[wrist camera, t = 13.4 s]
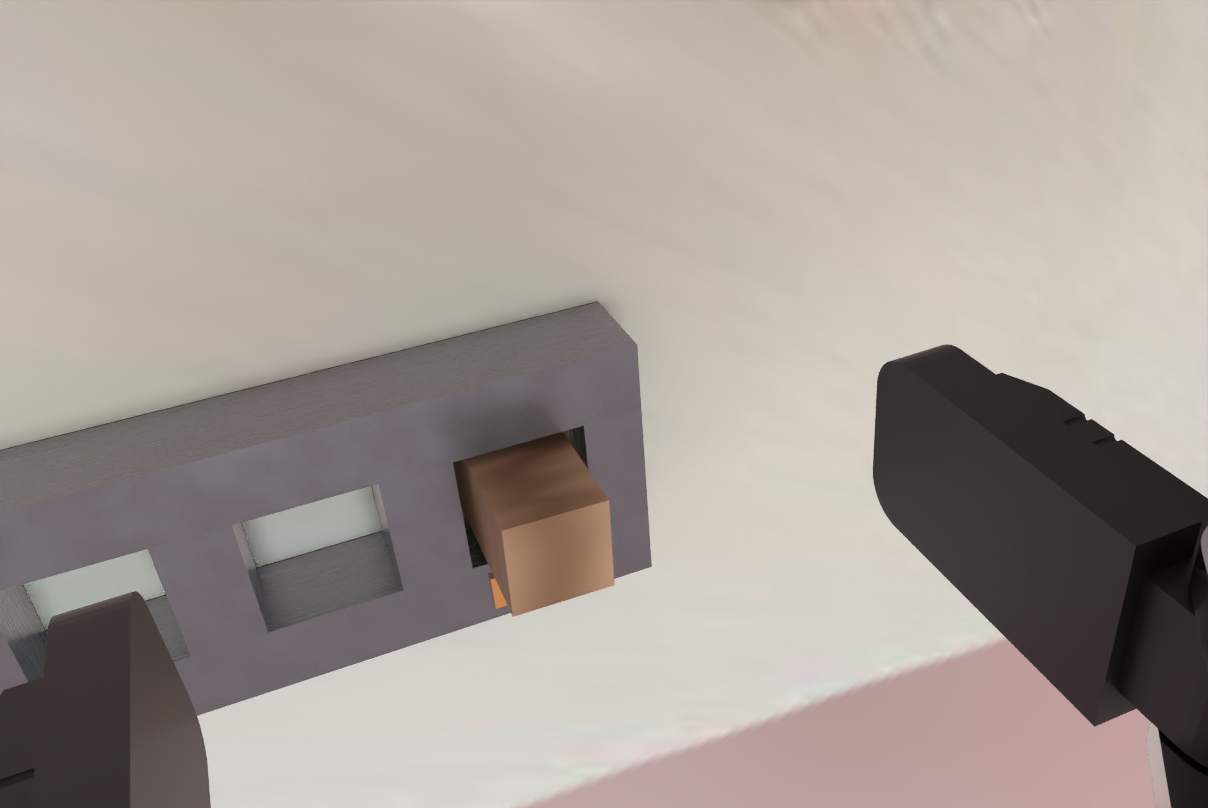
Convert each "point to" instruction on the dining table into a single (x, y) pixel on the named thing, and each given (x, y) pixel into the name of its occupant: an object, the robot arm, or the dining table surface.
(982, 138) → the dining table surface
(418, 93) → the dining table surface
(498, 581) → the walnut peg
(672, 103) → the dining table surface
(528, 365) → the grey socket board
